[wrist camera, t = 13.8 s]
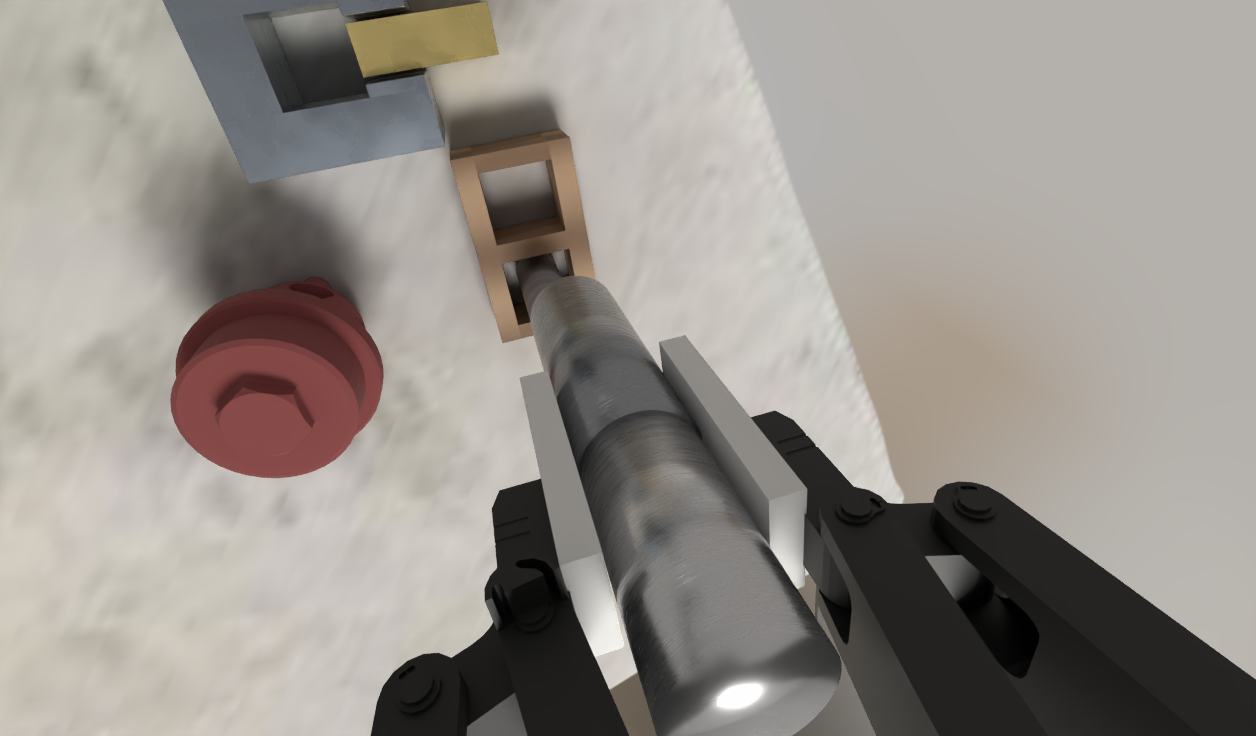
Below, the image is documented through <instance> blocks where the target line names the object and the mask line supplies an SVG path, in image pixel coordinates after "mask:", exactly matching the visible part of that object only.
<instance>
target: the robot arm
mask: <svg viewBox="0 0 1256 736" xmlns="http://www.w3.org/2000/svg"><path fill="white" fill-rule="evenodd" d="M659 346H660V353H661V361H662V369H663V374H664V376H665V377H666V379H667V380H668V382H669V383H670V385H671V386H672V388H673V390H674V391H675V393H676V394H677V396H678V397H679V399H680V400H681V402H682V403H683V405H684V406H685V408H686V409H687V411H688V412H689V414H690V415H691V417H692V419H693V420H694V422H695V423H696V425H697V426H698V428H699V430H700V431H701V433H702V442H703V443H704V445H705V446H706V448H707V450H708V451H709V453H710V454H711V456H712V457H713V459H714V460H715V462H716V464H717V465H718V467H719V468H720V470H721V471H722V473H723V474H724V476H725V478H726V479H727V481H728V482H729V484H730V485H731V487H732V489H733V490H734V492H735V493H736V495H737V496H738V498H739V499H740V501H741V503H742V504H743V506H744V507H745V509H746V510H747V512H748V513H749V515H750V517H751V518H752V520H753V521H754V523H755V524H756V526H757V527H758V529H759V531H760V532H761V534H762V535H763V537H764V538H765V540H766V541H767V543H768V545H769V546H770V548H771V549H772V551H773V552H774V554H775V556H776V557H777V559H778V560H779V562H780V563H781V565H782V566H783V568H784V570H785V571H786V573H787V574H788V576H789V577H790V579H791V580H792V582H793V584H794V585H795V587H796V588H801V587H803V586H804V585H805V568H806V570H807V571H808V573H809V574H810V576H811V577H812V579H813V580H814V582H815V583H816V604H815V618H816V619H817V621H818V623H819V624H820V626H821V627H822V623H823V617H824V620H825V622H826V624H827V626H828V628H829V631H830V633H831V635H832V637H833V639H834V642H835V644H836V646H837V649H838V651H839V653H840V655H841V658H842V660H843V662H844V664H845V666H846V669H847V671H848V673H849V675H850V677H851V680H852V682H853V684H854V687H855V689H856V691H857V693H858V696H859V697H860V700H861V702H862V704H863V707H864V709H865V711H866V713H867V716H868V718H869V720H870V722H871V725H872V727H873V729H874V731H875V734H876V736H1256V680H1255V679H1254V678H1253V677H1251V676H1250V675H1249V674H1247V673H1246V672H1245V671H1243V670H1242V669H1240V668H1239V667H1238V666H1236V665H1235V664H1233V663H1232V662H1231V661H1229V660H1228V659H1227V658H1225V657H1224V656H1223V655H1221V654H1220V653H1219V652H1217V651H1216V650H1214V649H1213V648H1212V647H1210V646H1209V645H1208V644H1206V643H1205V642H1203V641H1202V640H1201V639H1199V638H1198V637H1197V636H1195V635H1194V634H1192V633H1191V632H1190V631H1188V630H1187V629H1186V628H1184V627H1183V626H1182V625H1180V624H1179V623H1177V622H1176V621H1175V620H1173V619H1172V618H1171V617H1169V616H1168V615H1166V614H1165V613H1164V612H1162V611H1161V610H1160V609H1158V608H1157V607H1155V606H1154V605H1153V604H1151V603H1150V602H1149V601H1147V600H1146V599H1144V598H1143V597H1142V596H1140V595H1139V594H1138V593H1136V592H1135V591H1134V590H1132V589H1131V588H1130V587H1128V586H1127V585H1125V584H1124V583H1123V582H1121V581H1120V580H1118V579H1117V578H1116V577H1114V576H1113V575H1112V574H1110V573H1109V572H1107V571H1106V570H1105V569H1104V568H1102V567H1101V566H1099V565H1098V564H1097V563H1095V562H1094V561H1093V560H1091V559H1090V558H1088V557H1087V556H1086V555H1084V554H1083V553H1081V552H1080V551H1079V550H1077V549H1076V548H1075V547H1073V546H1072V545H1070V544H1069V543H1068V542H1067V541H1065V540H1064V539H1062V538H1061V537H1060V536H1058V535H1057V534H1056V533H1054V532H1053V531H1051V530H1050V529H1049V528H1047V527H1046V526H1045V525H1043V524H1042V523H1040V522H1039V521H1038V520H1036V519H1035V518H1034V517H1032V516H1031V515H1029V514H1028V513H1027V512H1025V511H1024V510H1023V509H1021V508H1020V507H1019V506H1017V505H1016V504H1015V503H1013V502H1012V501H1010V500H1009V499H1008V498H1006V497H1005V496H1003V495H1002V494H1000V493H999V492H997V491H995V490H993V489H991V488H990V487H987V486H984V485H980V484H977V483H972V482H955V483H950V484H946V485H944V486H943V487H941V488H940V489H939V490H937V493H936V495H935V498H934V502H933V503H916V504H892V503H887V502H886V501H885V500H884V499H883V498H882V497H881V496H879V495H877V494H875V493H873V492H871V491H869V490H866V489H861V488H857V487H854V486H852V484H851V483H850V482H849V481H848V480H847V479H846V478H845V477H844V476H843V474H842V473H841V472H840V471H839V470H838V469H837V468H836V467H835V466H834V465H833V463H832V462H831V461H830V460H829V459H828V458H827V457H826V456H825V455H824V453H823V452H822V451H821V450H820V449H819V448H818V447H816V446H815V444H814V442H813V441H812V440H811V439H810V438H809V437H808V436H806V434H805V432H804V431H803V430H802V429H801V428H800V427H799V426H798V425H797V424H796V422H795V421H794V420H792V419H790V418H788V417H786V416H784V415H782V414H781V413H779V412H777V411H772V412H768V413H765V414H761V415H758V416H754V417H751V418H750V416H749V415H748V414H747V413H746V411H745V410H744V409H743V408H742V406H741V405H740V404H739V403H738V401H737V400H736V399H735V398H734V396H733V395H732V394H731V393H730V391H729V390H728V389H727V388H726V386H725V385H724V384H723V382H722V381H721V380H720V379H719V377H718V376H717V375H716V374H715V372H714V371H713V370H712V369H711V367H710V366H709V365H708V364H707V362H706V361H705V360H704V359H703V357H702V356H701V355H700V354H699V352H698V351H697V350H696V349H695V347H694V346H693V345H692V344H691V342H690V341H689V340H688V339H687V337H686V336H685V335H684V336H681V337H677V338H673V339H669V340H665V341H661V342H659ZM520 382H521V387H522V391H523V396H524V401H525V405H526V410H527V415H528V420H529V424H530V429H531V434H532V438H533V443H534V448H535V453H536V457H537V462H538V467H539V471H540V476H541V479H538V480H535V481H531V482H528V483H524V484H521V485H517V486H514V487H510V488H507V489H503V490H500V491H499V493H498V495H497V498H496V500H495V503H494V505H493V507H492V515H493V526H494V537H495V543H496V545H495V547H496V558H497V569H496V570H495V571H494V572H493V573H492V574H491V576H490V577H489V580H488V582H487V584H486V587H485V603H486V605H487V607H488V610H489V612H490V615H491V617H492V620H493V624H492V626H491V627H490V628H489V630H488V631H487V632H486V633H485V634H484V635H483V636H482V637H481V638H480V639H478V640H477V641H476V642H475V643H473V644H472V645H471V646H469V647H468V648H466V649H464V650H463V651H461V652H460V653H458V654H457V655H455V656H454V657H452V658H450V657H448V656H445V655H442V654H440V653H431V654H423V655H420V656H418V657H415V658H413V659H411V660H408V661H407V662H406V663H405V664H403V665H402V666H401V667H399V668H398V669H397V670H396V671H394V672H393V674H392V675H391V676H390V678H389V679H388V680H387V682H386V683H385V684H384V686H383V688H382V691H381V693H380V696H379V699H378V701H377V705H376V711H375V716H374V721H373V727H372V732H371V736H629V734H628V732H627V729H626V727H625V725H624V723H623V720H622V718H621V716H620V714H619V711H618V709H617V707H616V704H615V702H614V700H613V698H612V695H611V693H610V691H609V688H608V686H607V684H606V681H605V679H604V677H603V675H602V672H601V670H600V668H599V665H598V663H597V661H596V659H595V657H596V656H599V655H602V654H605V653H608V652H611V651H614V650H617V649H620V648H623V647H624V642H623V638H622V634H621V630H620V625H619V621H618V617H617V613H616V609H615V604H614V600H613V596H612V592H611V587H610V583H609V579H608V575H607V570H606V566H605V562H604V558H603V553H602V550H601V547H600V543H599V540H598V537H597V533H596V530H595V527H594V523H593V520H592V517H591V513H590V510H589V507H588V503H587V500H586V497H585V493H584V490H583V487H582V483H581V480H580V477H579V473H578V470H577V467H576V463H575V460H574V457H573V453H572V450H571V447H570V443H569V440H568V437H567V434H566V430H565V427H564V424H563V420H562V417H561V414H560V410H559V407H558V404H557V400H556V397H555V394H554V390H553V387H552V384H551V380H550V377H549V374H548V371H544V372H540V373H537V374H533V375H529V376H525V377H521V378H520Z"/></svg>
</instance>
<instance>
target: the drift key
mask: <svg viewBox="0 0 1256 736" xmlns="http://www.w3.org/2000/svg"><path fill="white" fill-rule="evenodd" d="M346 27H347V30H348V33H349V36H350V39H351V42H352V45H353V48H354V51H355V54H356V57H357V60H358V63H359V66H360V69H361V72H362V75H363V77H370V76H375V75H381V74H387V73H393V72H399V71H405V70H411V69H417V68H422V67H428V66H434V65H440V64H446V63H452V62H458V61H463V60H469V59H475V58H481V57H487V56H493V55H499V53H498V49H497V44H496V40H495V35H494V31H493V27H492V22H491V18H490V13H489V9H488V4H487V2H481V3H475V4H468V5H462V6H456V7H449V8H443V9H436V10H430V11H424V12H417V13H411V14H404V15H398V16H392V17H385V18H379V19H372V20H366V21H360V22H353V23H347V24H346Z"/></svg>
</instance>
